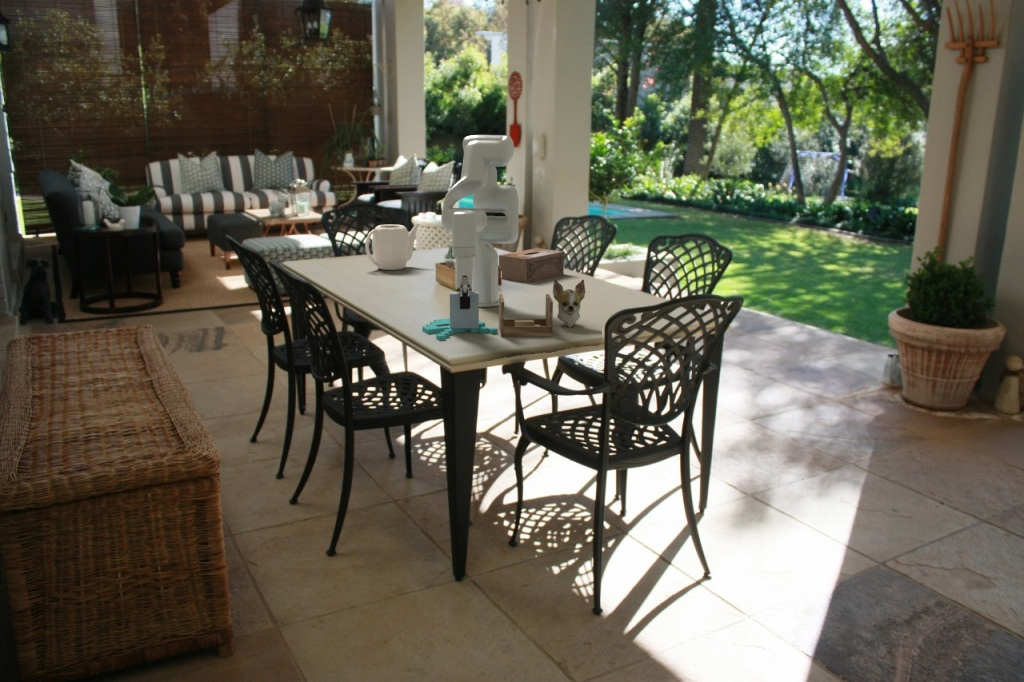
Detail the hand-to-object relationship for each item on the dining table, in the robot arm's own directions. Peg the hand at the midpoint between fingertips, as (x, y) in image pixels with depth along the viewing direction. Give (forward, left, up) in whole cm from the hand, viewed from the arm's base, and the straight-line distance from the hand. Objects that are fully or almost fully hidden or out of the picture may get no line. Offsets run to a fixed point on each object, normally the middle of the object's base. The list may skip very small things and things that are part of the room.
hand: (464, 305), depth 276 cm
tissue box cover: (-94, +30, -9) cm, 99 cm away
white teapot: (-115, -29, -8) cm, 119 cm away
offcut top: (+4, +19, -6) cm, 20 cm away
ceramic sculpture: (-6, +34, -8) cm, 36 cm away
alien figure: (-2, -3, -9) cm, 10 cm away
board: (0, 0, -7) cm, 7 cm away
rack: (+2, +19, -8) cm, 21 cm away
